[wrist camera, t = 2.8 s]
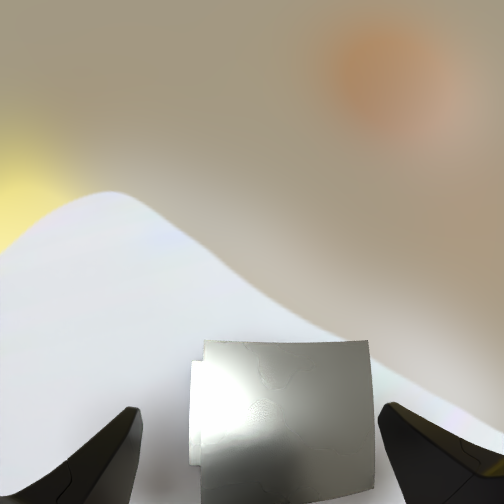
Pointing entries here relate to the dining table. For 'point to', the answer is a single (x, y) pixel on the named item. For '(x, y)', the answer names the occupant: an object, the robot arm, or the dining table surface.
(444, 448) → the robot arm
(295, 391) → the steel housing
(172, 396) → the dining table surface
